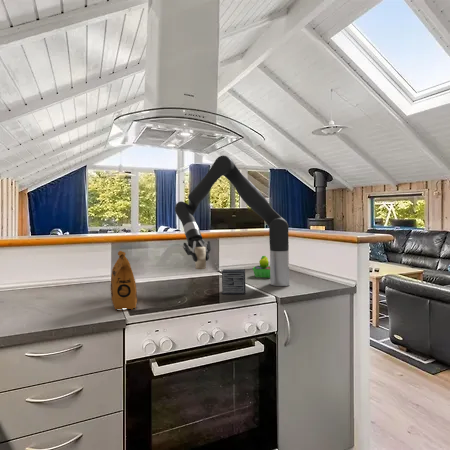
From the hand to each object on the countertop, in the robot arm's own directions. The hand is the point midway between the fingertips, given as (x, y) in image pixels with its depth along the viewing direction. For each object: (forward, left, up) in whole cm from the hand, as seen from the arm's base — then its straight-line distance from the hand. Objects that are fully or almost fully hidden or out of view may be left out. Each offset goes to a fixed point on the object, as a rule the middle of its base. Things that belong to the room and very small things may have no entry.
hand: (201, 260), depth 150 cm
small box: (-15, +2, -15) cm, 21 cm away
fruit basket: (-30, -33, -15) cm, 47 cm away
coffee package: (+28, +24, -15) cm, 40 cm away
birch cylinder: (+1, -2, -4) cm, 5 cm away
